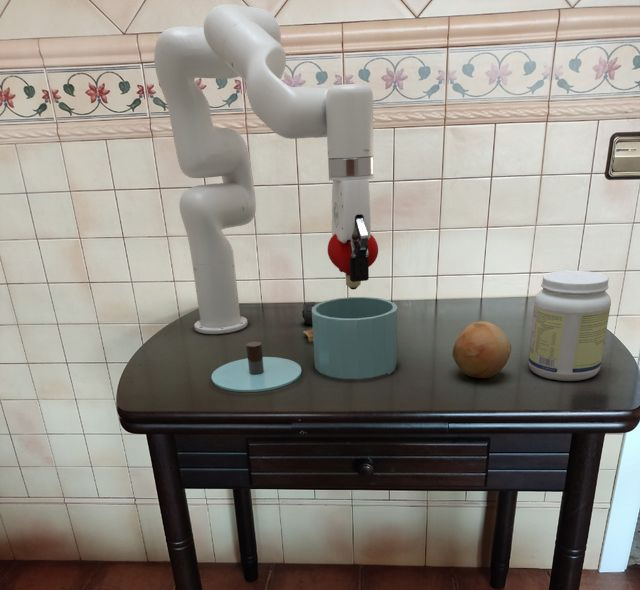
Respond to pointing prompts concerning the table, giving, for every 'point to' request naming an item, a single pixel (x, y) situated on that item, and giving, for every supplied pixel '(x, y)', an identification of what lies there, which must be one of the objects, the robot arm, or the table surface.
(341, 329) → the pot
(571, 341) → the supplement tub
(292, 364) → the lid
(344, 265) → the red rounded piece
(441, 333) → the table surface
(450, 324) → the table surface
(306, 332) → the shard
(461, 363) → the onion
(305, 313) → the flashlight
